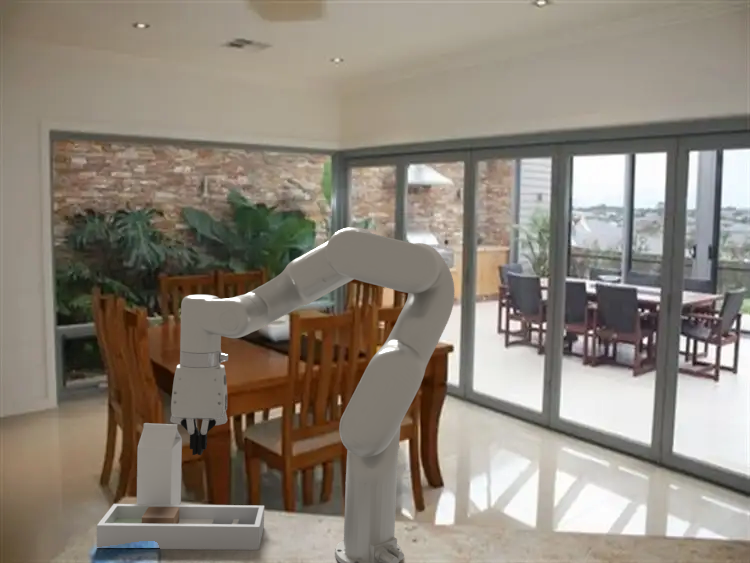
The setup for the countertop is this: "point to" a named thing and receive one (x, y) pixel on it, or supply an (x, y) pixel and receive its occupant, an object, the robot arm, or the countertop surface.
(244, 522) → the box
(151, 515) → the block
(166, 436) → the milk carton
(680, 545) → the countertop surface
